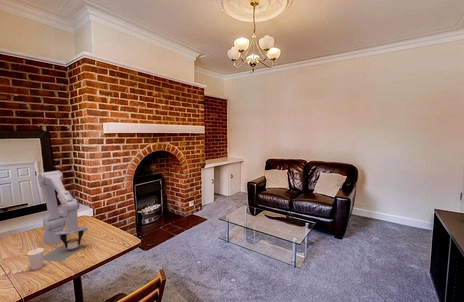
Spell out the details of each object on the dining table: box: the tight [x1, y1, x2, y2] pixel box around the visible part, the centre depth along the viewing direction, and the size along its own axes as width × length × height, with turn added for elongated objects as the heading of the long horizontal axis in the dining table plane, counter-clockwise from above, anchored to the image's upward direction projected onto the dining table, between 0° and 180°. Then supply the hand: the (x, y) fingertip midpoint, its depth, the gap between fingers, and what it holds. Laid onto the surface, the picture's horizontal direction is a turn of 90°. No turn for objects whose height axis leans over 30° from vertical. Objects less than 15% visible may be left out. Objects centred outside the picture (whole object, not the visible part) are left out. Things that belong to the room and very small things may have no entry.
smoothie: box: [26, 242, 46, 271], centre depth 106 cm, size 6×6×14 cm
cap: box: [67, 237, 80, 249], centre depth 122 cm, size 5×5×4 cm
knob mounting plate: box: [43, 244, 85, 263], centre depth 119 cm, size 14×15×6 cm
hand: (73, 245), depth 122 cm, fingers closed on cap, 5 cm apart
